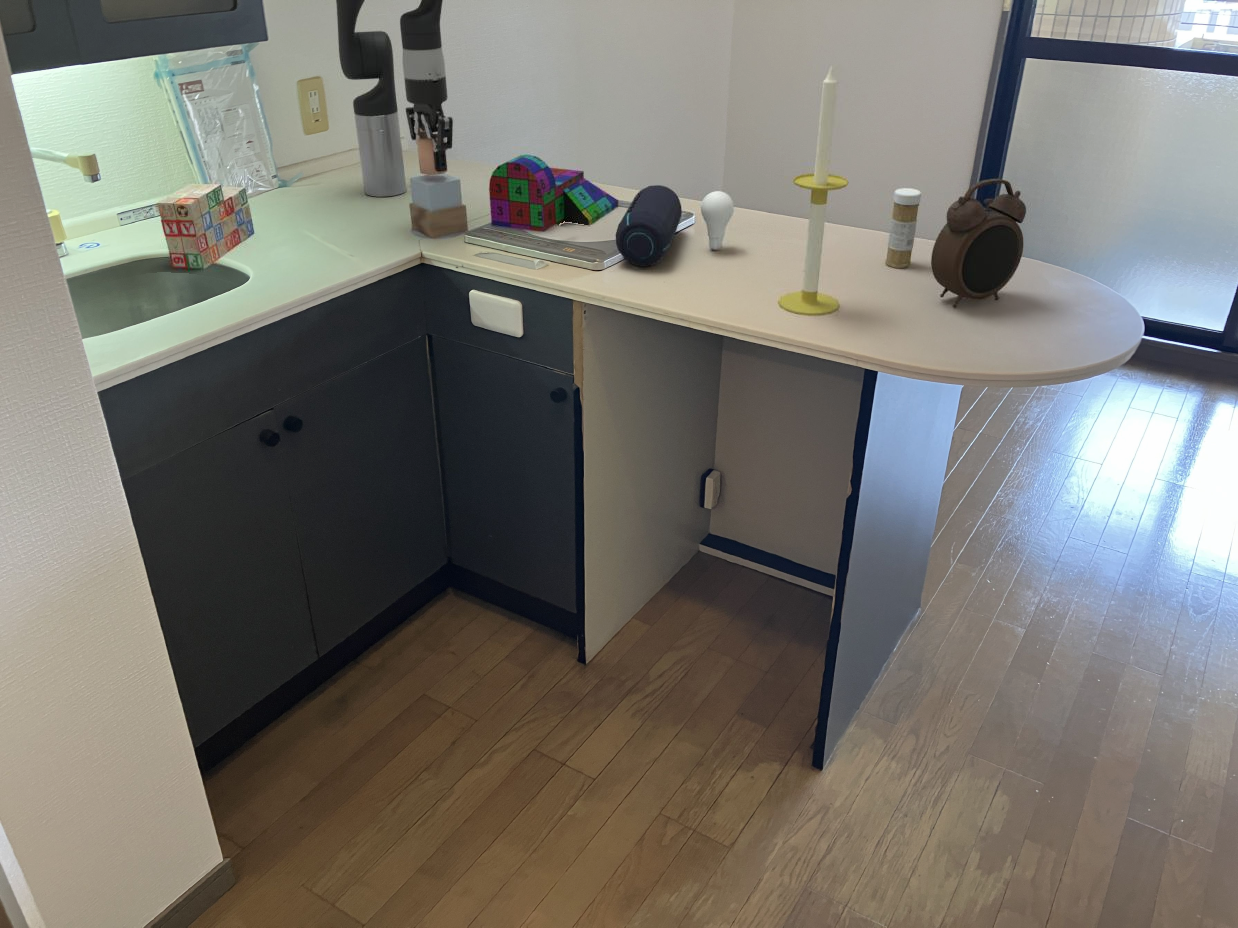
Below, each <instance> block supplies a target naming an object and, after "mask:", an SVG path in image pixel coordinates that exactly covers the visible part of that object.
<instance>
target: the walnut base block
mask: <svg viewBox="0 0 1238 928" xmlns="http://www.w3.org/2000/svg"><path fill="white" fill-rule="evenodd" d="M408 205H409V212H410V213H409V214H410V223H411V230H412V229H414V230H416V231H418V232H420V233H422V234H424V235H426V236H428V237H430V238H432V240H434V239H433V238H437V237H441V236H446V235H450V234H455V233H459V232H464V231H466V232H468V230H469V227H468V214H467V205H466V204H463V203H462V205H461V206H456V207H451V208H447V209H442V210H437V211H433V212H430V211H428V210H425V209H423V208H421V207H418V206H416V205H414V204H413V203H411V202H410V203H409V204H408Z"/></svg>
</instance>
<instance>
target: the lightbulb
mask: <svg viewBox="0 0 1238 928" xmlns="http://www.w3.org/2000/svg"><path fill="white" fill-rule="evenodd" d="M734 211H735V204H734V201H733V199H732V198H731V196H730V195H729V194H728V193H726V192H724V191H719V190H715V191H712V192H710V193H708V194H707V195H706V196H705V197H704V198H703V199H702V201H701V204H700V213H701V216H702V218H703V220H704V223H705V224H706V228H707V236H708V247H709V248H711V249H712V250H714V251H717V250H719V249H721V248H722V247H723V242H724V237H725V233H726V228H727V226H728V223H729V222H730V220H731V218H732V216H733V214H734Z"/></svg>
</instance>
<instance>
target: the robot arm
mask: <svg viewBox="0 0 1238 928" xmlns="http://www.w3.org/2000/svg"><path fill="white" fill-rule="evenodd" d="M443 1H444V0H421V1H420V3H419V5H418V7H417V8H415V9H413V10H410V11H408V12H404V13H403V14H401V16H400V18H399V27H400V36H401V37H400V38H401V45H402V70H403V78H404V79H403V80H404V89H405V97H406V98H405V99H406V101H407V102H408V103H410V104H412V106H409V107H405V115H406V119H407V120H406V121H407V125H408V129H409V133H410V139H411V140H412V141H415V144H416V145H417V139H418V138H421V137H426V136H427V137H428V139H429V140H431V142H432V146H433V150H434V152H433V154H434V164H435V170H436V171H438V172H442V171H446V170H448V161H447V162H446V159H447V152H446V151H447V150H450V149H452V148H453V129H454V128H453V126H454V125H453V124H454V120H453V117H452V116H446V115H445V114H444V110H443V106H442V104H443V103H445V102H447V100H448V88H447V77H446V76H447V75H446V65H445V64H446V63H445V57H444V53H443V52H444V51H443V46H442V45H443V44H442V36H441V35H442V34H441V15H442V7H443ZM364 2H365V0H335V3H336V18H337V37H338V54H339V55H338V56H339V62H340V63H339V64H340V68H341V70H342V71H341V72H342V73H343V75H344V77H345V78H347V79H348V80H355V81H359V80H375V79H376V80H377V79H378V81H377V83H376V85H375V86H374V87H373V88H372V89H370V90H369V91H367V92H364V93H362V94H360V95H358V96H357V97H355V98H354V99H353V102H352V106H353V113H354V120H355V121H354V122H355V128H356V129H355V130H356V135H357V136H356V137H357V142H358V143H357V144H358V151H359V159H360V167H361V174H362V181H363V182H362V183H363V190H364V193H365V195H367V196H372V197H379V198H380V197H381V198H382V197H393V196H399V195H401V194H402V195H403V193H405V192H406V191H407V183H406V175H405V174H406V172H405V164H404V154H403V145H402V137H401V135H402V134H401V127H400V119H399V111H398V109H399V108H398V102H397V94H396V93H397V92H396V84H395V69H394V66H395V65H394V53H393V45H392V41H391V38H390V36H389V34H388V33H387V32H385V31H382V30H376V31H373V30H372V31H356V25H357V21H358V16H359V13H360V11H361V8H362V7H363V5H364ZM437 138H438V144H437V141H436V139H437Z"/></svg>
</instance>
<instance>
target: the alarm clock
mask: <svg viewBox="0 0 1238 928" xmlns="http://www.w3.org/2000/svg"><path fill="white" fill-rule="evenodd" d="M993 184H1002V185H1004V187H1005V191H1006V193H1003V194H999V195H997V196H996V197H994V198H986V199H984V200H983V204H984V205H986V206H983V204H982V203H981V202H980V201H979V200H978V199H976V198H974V197H971V196H973V194H974V192H975V191H976V190H977V189H979V188H981V187H983V186H988V185H993ZM1020 196H1021V191H1020V190H1017V191H1015V192H1014V191H1013V187H1012V184H1011V183H1010V182H1009V181H1008V180H1006V179H1000V178H990V179H984V180H980V181H977V182H975V183H974V184H972V185H971V186H969V188H968V189H967V191H966V192H965V194H964V196H958V200H956V201H954V202H953V203H952V204H950V206H949V207H948V209H947V212H946V223H945V225H944V226H943V227H942V229H941V230H940V231H939V233H938V235H937V237H936V238H935V239H936V240H935V242H934V245H933V248H932V252H931V260H930V264H931V272H932V274H933V277H934V279H935V280H936V282H937V283H938V285H940V286H941V287H943V288H944V289H943V291H942V293H941V294H940V295H939V297H940V298H944V297H945V295H946V294H947V292H948V291H949V292H950V293H952V294H954V295H957V297H956V299H955V302H954V304H953V303H952V307H953V308H954V309H955V308H957V307H958V304H960V302H961V301H962V300H963V298H965V299H969V300H974V301H980V300H984V299H988V298H990V297H992V296H994V300H995V301H999V300H1000V297H999V295H998V292H999V291H1001V289H1003V288H1004V287H1005V286H1006V285H1007V284H1008V283H1009V282H1010V280H1011V279H1012V278H1013V276H1014V275H1015V273H1016V271H1017V270H1018V267H1019V265H1020V262H1021V259H1022V255H1023V252H1024V235H1023V231H1022V229H1021V227H1020V225H1019V224H1022V223H1023V222H1024V219H1025V218H1026V213H1027V206H1026V204H1025V202H1024V201H1023V200H1022V199H1020Z"/></svg>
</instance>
